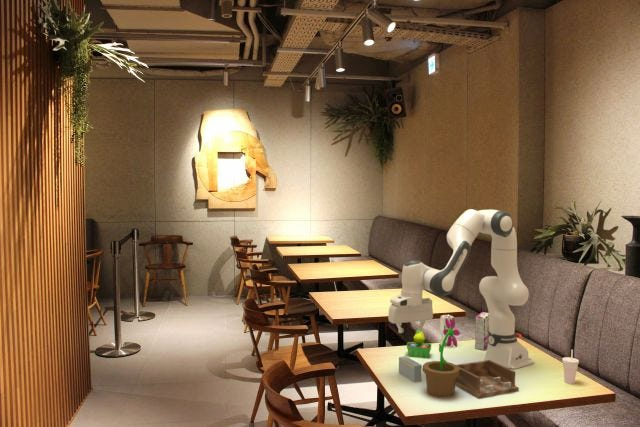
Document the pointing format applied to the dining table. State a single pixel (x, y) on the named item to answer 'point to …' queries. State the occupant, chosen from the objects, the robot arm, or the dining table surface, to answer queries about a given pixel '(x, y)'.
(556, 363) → the dining table surface
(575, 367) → the smoothie
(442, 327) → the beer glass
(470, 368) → the wooden box
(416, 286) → the robot arm
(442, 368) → the flowerpot
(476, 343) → the candy bar box
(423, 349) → the fruit basket
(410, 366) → the grey box with stripe
